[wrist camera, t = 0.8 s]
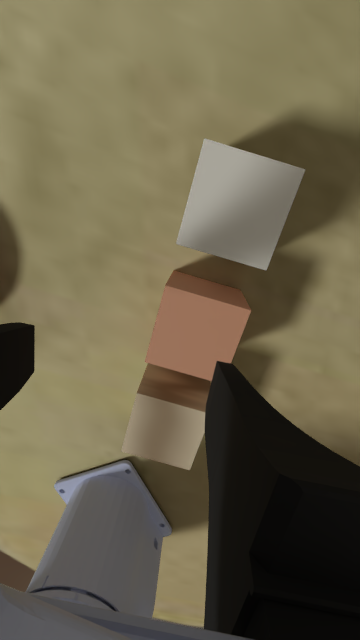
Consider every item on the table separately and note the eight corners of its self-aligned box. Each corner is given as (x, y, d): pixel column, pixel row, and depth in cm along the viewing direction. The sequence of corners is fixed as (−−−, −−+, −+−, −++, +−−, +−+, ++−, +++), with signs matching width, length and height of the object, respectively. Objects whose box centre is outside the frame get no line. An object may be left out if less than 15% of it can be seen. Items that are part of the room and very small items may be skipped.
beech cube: (209, 374, 22) (211, 414, 18) (192, 423, 24) (189, 470, 20) (150, 357, 22) (136, 393, 18) (136, 407, 24) (121, 451, 19)
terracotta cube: (240, 289, 20) (251, 310, 16) (218, 349, 22) (222, 384, 17) (173, 270, 20) (165, 285, 15) (156, 331, 22) (144, 362, 17)
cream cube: (279, 181, 18) (305, 169, 13) (251, 258, 19) (266, 270, 15) (203, 158, 18) (204, 138, 13) (182, 237, 19) (176, 244, 15)
